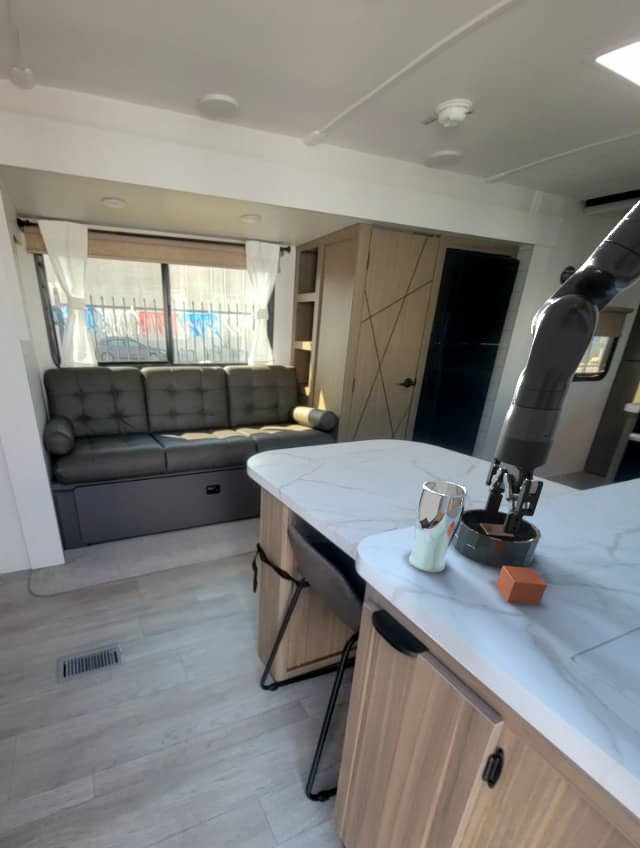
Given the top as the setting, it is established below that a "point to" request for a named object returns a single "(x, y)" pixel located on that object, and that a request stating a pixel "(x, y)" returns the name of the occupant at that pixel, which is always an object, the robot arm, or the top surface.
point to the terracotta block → (521, 585)
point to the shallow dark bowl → (495, 541)
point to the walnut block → (494, 531)
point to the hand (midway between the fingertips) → (499, 521)
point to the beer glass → (436, 523)
